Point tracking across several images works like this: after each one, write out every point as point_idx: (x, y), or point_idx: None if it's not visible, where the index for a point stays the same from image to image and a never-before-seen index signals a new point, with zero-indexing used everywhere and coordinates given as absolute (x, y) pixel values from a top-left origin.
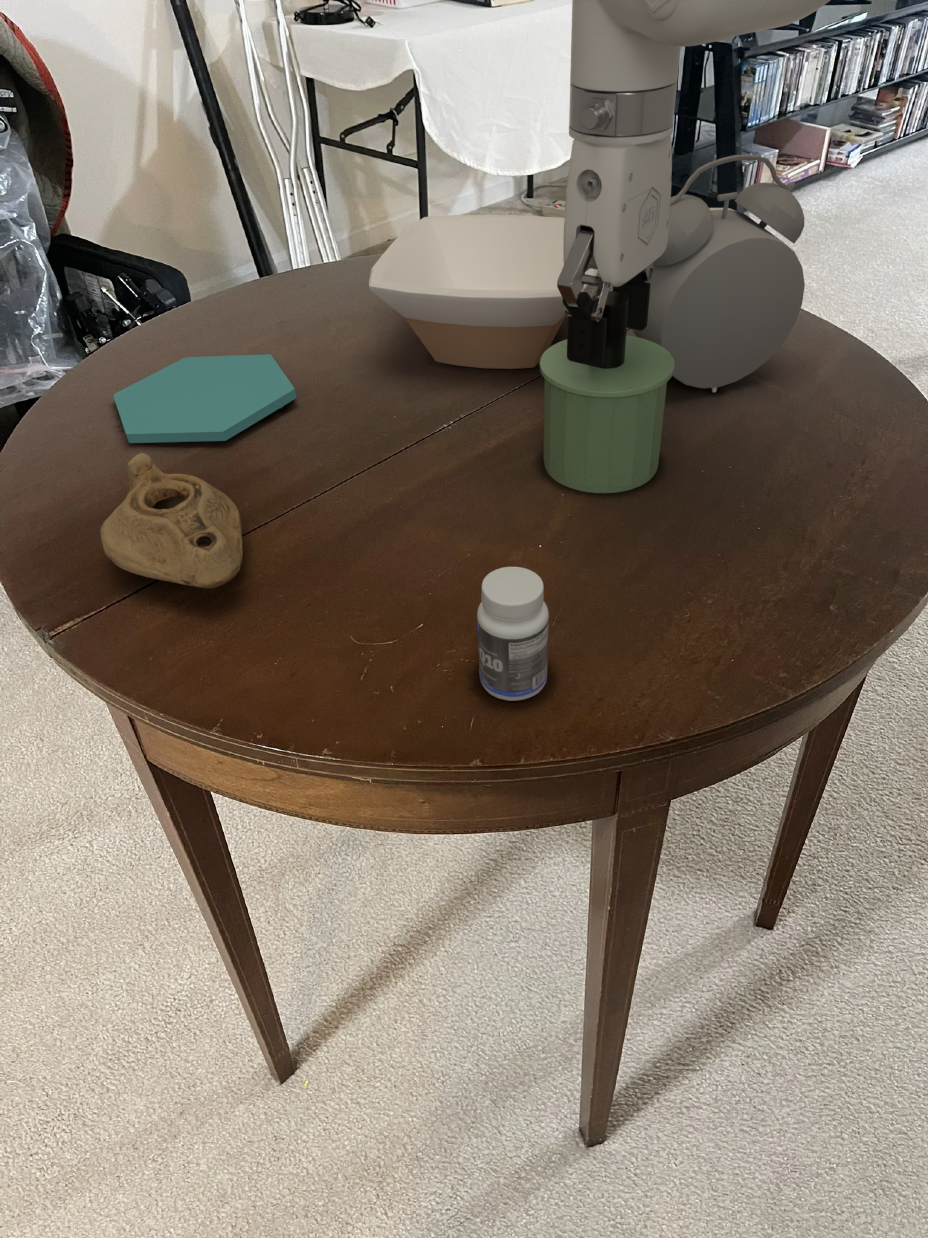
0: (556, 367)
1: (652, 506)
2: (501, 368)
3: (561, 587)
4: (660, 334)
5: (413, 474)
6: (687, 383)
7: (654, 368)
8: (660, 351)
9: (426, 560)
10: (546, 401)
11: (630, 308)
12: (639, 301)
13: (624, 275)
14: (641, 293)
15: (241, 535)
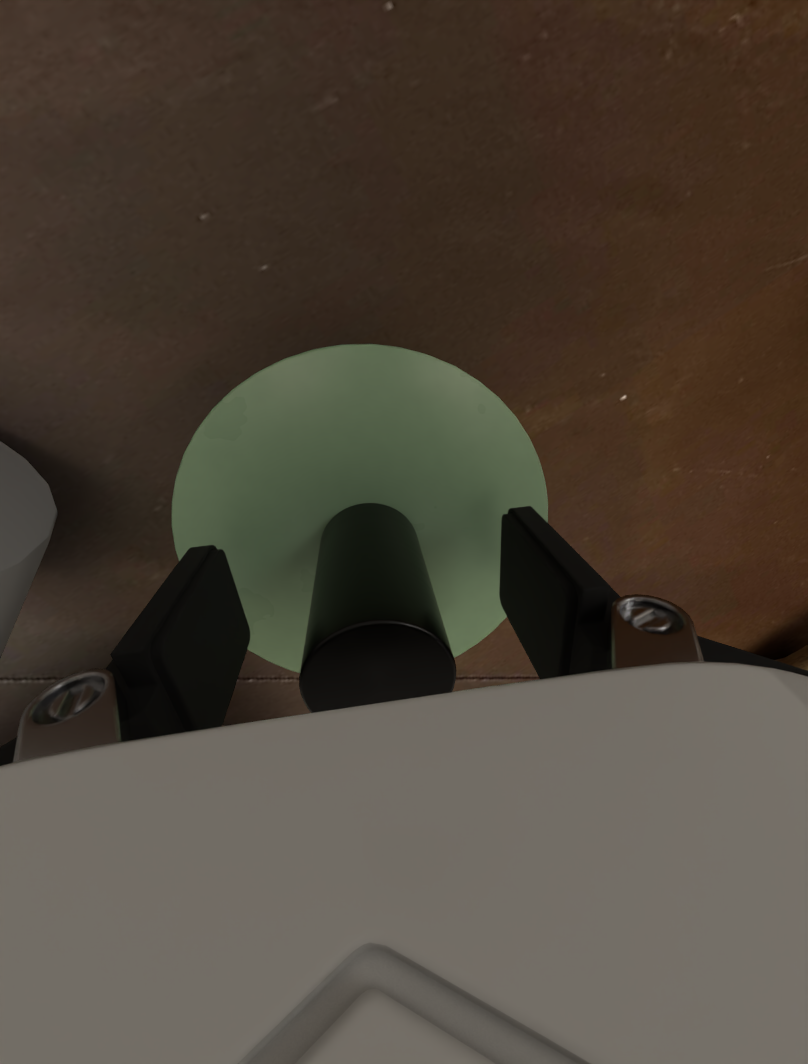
0: (468, 615)
1: (436, 293)
2: (223, 725)
3: (713, 302)
4: (27, 558)
5: None
6: (23, 459)
7: (327, 412)
8: (211, 459)
9: (702, 505)
10: None
11: (215, 626)
12: (193, 621)
13: (778, 707)
14: (181, 639)
15: (805, 668)
